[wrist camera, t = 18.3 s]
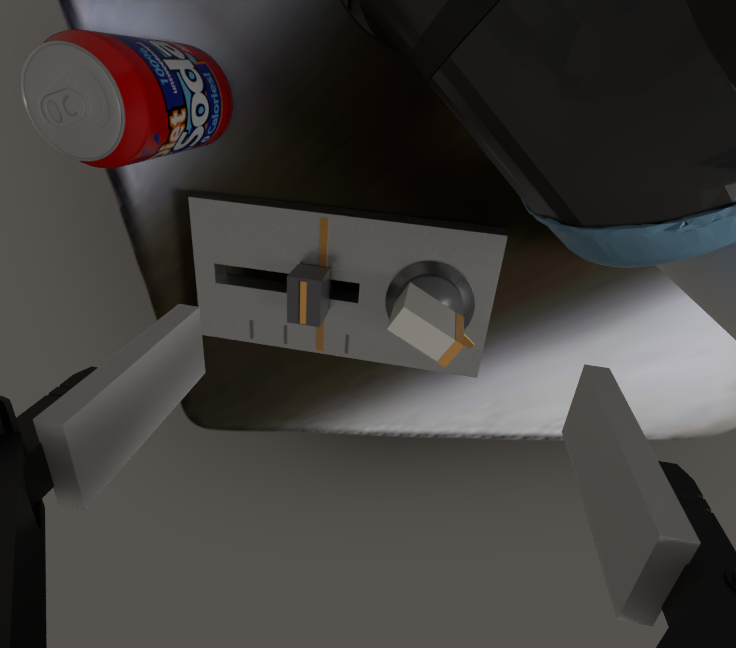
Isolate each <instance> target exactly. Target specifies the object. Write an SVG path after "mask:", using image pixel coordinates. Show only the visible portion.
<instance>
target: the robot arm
mask: <svg viewBox="0 0 736 648" xmlns="http://www.w3.org/2000/svg"><path fill="white" fill-rule="evenodd" d="M341 2H342V4H343V6H344V7H345V9H346V10H347V12H348V13H349V14H350V16H351V17H352V18H353V20H354V21H355V22H356V23H357V24H358V25H359V26H360V27H361V28H362V29H363V30H364V31H365V32H366V33H367V34H368V35H370V36H371V37H372V38H374V39H375V40H377V41H378V42H380V43H381V44H383V45H385V46H387V47H389V48H391V49H393V50H396V51H398V52H402V53H404V54H405V56H406V57H407V58H408V59H409V60H410V61H411V63H412V64H413V65H414V66H415V67H416V69H417V70H418V71H419V72H420V74H421V75H422V76H423V77H424V78H425V80H426V81H427V82H428V85H429V86H430V87H431V89H432V90H433V91H434V92H435V93H436V95H437V96H438V97H439V98H440V100H441V101H442V102H443V103H444V104H445V106H446V107H447V108H448V109H449V111H450V112H451V113H452V114H453V115H454V117H455V118H456V119H457V120H458V122H459V123H460V124H461V125H462V126H463V128H464V129H465V130H466V131H467V133H468V134H469V135H470V136H471V137H472V139H473V140H474V141H475V142H476V143H477V145H478V146H479V147H480V148H481V150H482V151H483V152H484V153H485V154H486V156H487V157H488V158H489V159H490V161H491V162H492V163H493V164H494V165H495V167H496V168H497V169H498V170H499V172H500V173H501V174H502V175H503V176H504V178H505V179H506V180H507V181H508V183H509V184H510V185H511V186H512V187H513V189H514V190H515V191H516V192H517V194H518V195H519V196H520V197H521V199H522V202H523V204H524V206H525V207H526V209H527V210H528V212H529V213H530V214H533V215H534V217H535V218H536V220H538V221H540V222H541V223H543V224H544V225H546V226H548V227H549V228H550V229H551V231H552V232H553V233H554V234H555V235H556V236H557V237H558V238H559V239H560V240H561V241H562V243H563V244H564V245H565V246H566V247H567V248H568V249H569V250H571V251H572V252H573V253H575V254H576V255H578V256H580V257H581V258H583V259H585V260H588V261H591V262H594V263H597V264H601V265H606V266H614V267H642V266H652V265H659V264H666V263H671V262H676V261H680V260H684V259H688V258H692V257H695V256H699V255H702V254H705V253H708V252H711V251H714V250H716V249H719V248H722V247H724V246H727V245H729V244H732V243H734V242H736V0H341ZM204 374H205V364H204V353H203V342H202V331H201V320H200V309H199V307H196V306H189V305H182V304H178V305H177V306H176V307H174V308H173V309H172V310H171V311H169V312H168V313H167V314H166V315H164V316H163V317H162V318H160V319H159V320H158V321H157V322H155V323H154V324H153V325H152V326H150V327H149V328H148V329H147V330H145V331H144V332H143V333H142V334H140V335H139V336H138V337H136V338H135V339H134V340H133V341H131V342H130V343H129V344H128V345H126V346H125V347H124V348H123V349H121V350H120V351H119V352H117V353H116V354H115V355H114V356H112V357H111V358H110V359H109V360H107V361H106V362H105V363H104V364H102V365H101V366H100V367H98V368H97V367H89V368H87V369H85V370H83V371H80V372H78V373H76V374H74V375H72V376H71V377H70V378H68V379H67V380H66V381H64V382H63V383H62V384H60V387H57V388H55V389H54V390H52V391H51V392H50V393H49V395H48V396H47V395H46V396H44V397H43V398H42V399H41V400H39V401H38V402H37V403H35V404H34V405H33V406H31V407H30V408H29V409H27V410H26V411H25V412H23V413H22V414H21V415H19V416H18V417H17V418H16V416H15V413H14V411H13V407H12V404H11V402H10V400H9V399H7V398H5V397H3V396H0V648H46V569H45V568H46V562H45V560H46V558H45V507H44V503H43V500H42V498H43V497H44V496H45V495H46V494H47V493H48V492H49V491H50V490H51V489H52V488H54V491H55V494H56V498H57V501H58V504H61V505H66V506H71V507H76V508H81V509H86V508H87V507H88V506H89V505H90V504H91V503H92V501H93V500H94V499H95V498H96V497H97V496H98V494H99V493H100V492H101V491H102V490H103V489H104V488H105V486H106V485H107V484H108V483H109V482H110V481H111V480H112V479H113V477H114V476H115V475H116V474H117V473H118V472H119V471H120V469H121V468H122V467H123V466H124V465H125V464H126V463H127V461H128V460H129V459H130V458H131V457H132V456H133V455H134V453H135V452H136V451H137V450H138V449H139V448H140V447H141V445H142V444H143V443H144V442H145V441H146V440H147V439H148V437H149V436H150V435H151V434H152V433H153V432H154V431H155V430H156V428H157V427H158V426H159V425H160V424H161V423H162V422H163V420H164V419H165V418H166V417H167V416H168V415H169V413H170V412H171V411H172V410H173V409H174V408H175V407H176V406H177V404H178V403H179V402H180V401H181V400H182V399H183V398H184V396H185V395H186V394H187V393H188V392H189V391H190V390H191V388H192V387H193V386H194V385H195V384H196V383H197V382H198V380H199V379H200V378H201V377H202V376H203V375H204ZM562 433H563V437H564V440H565V444H566V447H567V450H568V454H569V457H570V461H571V464H572V467H573V471H574V474H575V478H576V481H577V485H578V488H579V491H580V495H581V498H582V501H583V505H584V508H585V512H586V515H587V519H588V522H589V525H590V529H591V532H592V536H593V539H594V542H595V546H596V549H597V552H598V556H599V560H600V563H601V566H602V570H603V573H604V577H605V580H606V584H607V587H608V590H609V594H610V597H611V601H612V604H613V608H614V611H615V614H616V618H617V619H619V620H624V621H629V622H633V623H639V624H643V625H649V626H653V625H654V623H655V621H656V619H657V618H658V616H659V614H660V613H661V611H663V613H664V616H665V618H666V621H667V624H668V626H669V628H668V630H667V631H666V633H665V634H664V636H663V638H662V639H661V641H660V642H659V644H658V645H657V647H656V648H736V551H735V549H734V548H733V546H732V544H731V543H730V541H729V539H728V537H727V536H726V534H725V533H724V531H723V529H722V527H721V526H720V524H719V522H718V520H717V519H716V517H715V515H714V514H713V513H711V509H710V507H709V505H708V503H707V502H706V500H705V499H703V495H702V493H701V492H700V490H699V488H698V486H697V485H696V483H695V481H694V480H693V479H692V478H691V477H690V476H689V475H688V474H687V473H686V472H685V471H684V470H683V469H681V467H679V466H678V465H677V464H673V463H667V462H661V461H657V459H656V457H655V455H654V453H653V451H652V449H651V447H650V445H649V443H648V441H647V439H646V438H645V436H644V434H643V432H642V430H641V428H640V426H639V424H638V422H637V420H636V418H635V417H634V415H633V413H632V411H631V409H630V407H629V405H628V403H627V401H626V399H625V397H624V395H623V394H622V392H621V390H620V388H619V386H618V384H617V382H616V380H615V378H614V376H613V374H612V373H611V371H610V369H609V368H604V367H597V366H590V365H584V368H583V371H582V374H581V377H580V380H579V383H578V386H577V389H576V392H575V395H574V398H573V401H572V404H571V407H570V410H569V413H568V415H567V418H566V421H565V424H564V427H563V430H562Z"/></svg>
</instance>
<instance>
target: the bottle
mask: <svg viewBox="0 0 736 648" xmlns="http://www.w3.org/2000/svg"><path fill="white" fill-rule="evenodd" d="M656 266H657V267H658V268H659V269H660V270H661V271H662V272H664V273H665V274H666V275H667V276H668V277H669V278H670V279H671V280H672V281H673V282H674V283H675V284H676V285H677V286H679V287H680V288H681V289H682V290H683V291H684V292H685V293H686V294H687V295H688V296H689V297H690V298H691V299H692V300H694V301H695V302H696V303H697V304H698V305H699V306H700V307H701V308H702V309H703V310H704V311H705V312H706V313H707V314H709V315H710V316H711V317H712V318H713V319H714V320H715V321H716V322H717V323H718V324H719V325H720V326H721V327H722V328H724V329H725V330H726V331H727V332H728V333H729V334H730V335H731V336H732V337H733V338H734V339H735V340H736V242H734V243H732V244H729V245H727V246H724V247H722V248H719V249H716V250H714V251H711V252H708V253H705V254H702V255H699V256H695V257H692V258H688V259H684V260H680V261H676V262H671V263H666V264H659V265H656Z"/></svg>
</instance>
